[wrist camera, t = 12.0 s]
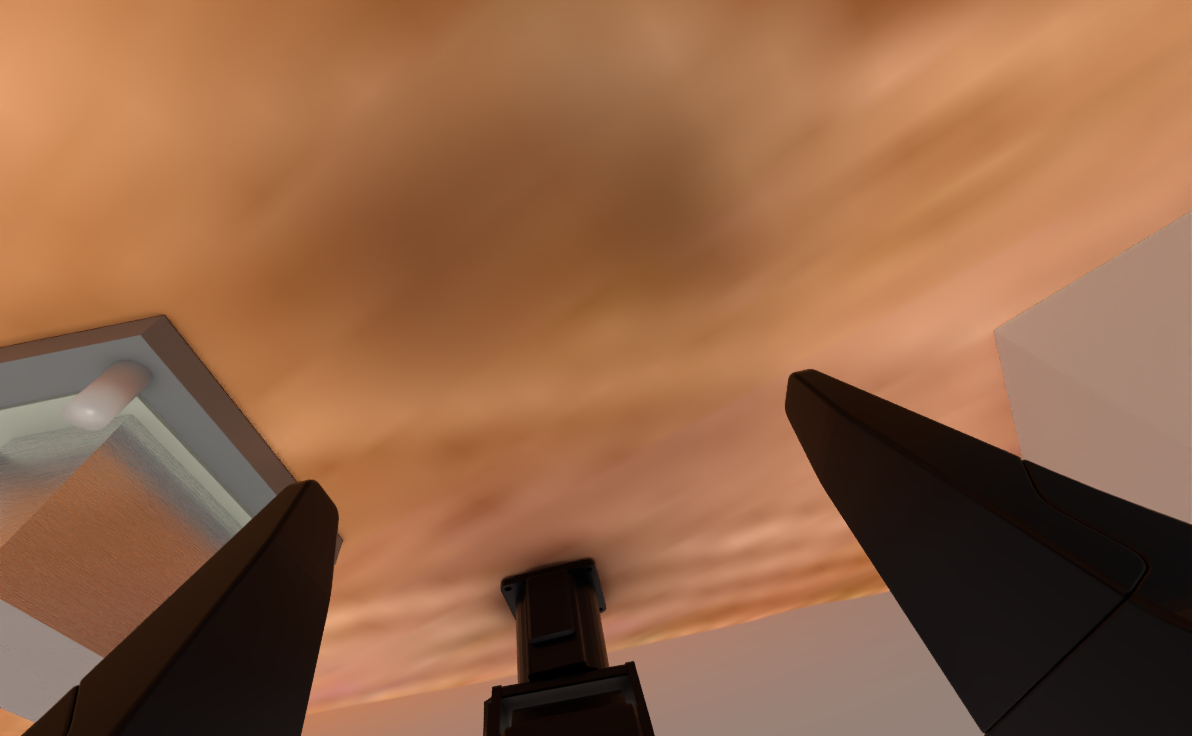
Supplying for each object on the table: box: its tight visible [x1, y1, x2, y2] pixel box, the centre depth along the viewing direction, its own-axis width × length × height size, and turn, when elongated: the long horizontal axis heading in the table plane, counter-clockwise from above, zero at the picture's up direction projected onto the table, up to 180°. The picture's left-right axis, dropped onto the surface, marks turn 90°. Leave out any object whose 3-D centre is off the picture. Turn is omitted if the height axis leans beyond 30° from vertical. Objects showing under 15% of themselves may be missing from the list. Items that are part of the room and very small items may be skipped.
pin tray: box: [0, 315, 343, 565], centre depth 21 cm, size 15×9×4 cm, turn 8°
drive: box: [0, 414, 243, 722], centre depth 18 cm, size 9×5×7 cm, turn 8°
